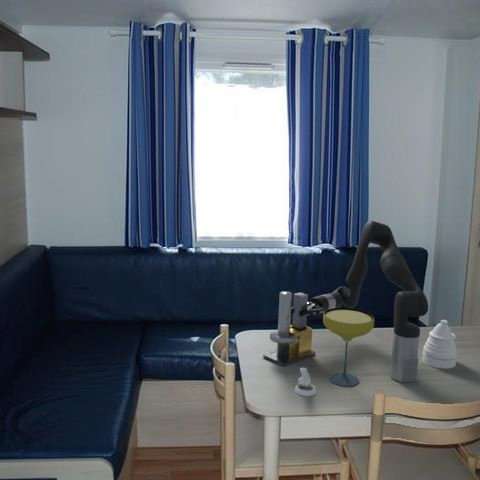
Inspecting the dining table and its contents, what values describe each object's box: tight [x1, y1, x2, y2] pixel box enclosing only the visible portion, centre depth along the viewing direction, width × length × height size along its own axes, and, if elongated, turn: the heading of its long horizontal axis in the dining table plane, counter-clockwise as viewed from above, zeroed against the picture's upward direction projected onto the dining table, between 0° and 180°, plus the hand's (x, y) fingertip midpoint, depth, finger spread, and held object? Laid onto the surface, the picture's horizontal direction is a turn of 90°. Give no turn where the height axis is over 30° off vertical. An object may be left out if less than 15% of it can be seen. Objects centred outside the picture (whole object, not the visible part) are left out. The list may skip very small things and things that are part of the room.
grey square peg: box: [291, 291, 309, 331], centre depth 222 cm, size 4×4×16 cm
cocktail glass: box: [322, 307, 375, 388], centre depth 199 cm, size 18×18×25 cm
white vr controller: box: [294, 367, 317, 397], centre depth 190 cm, size 8×12×7 cm
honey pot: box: [421, 319, 458, 369], centre depth 219 cm, size 13×13×18 cm
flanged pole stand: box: [262, 291, 316, 368], centre depth 219 cm, size 19×11×27 cm, turn 132°
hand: (295, 312), depth 220 cm, fingers closed on grey square peg, 4 cm apart
